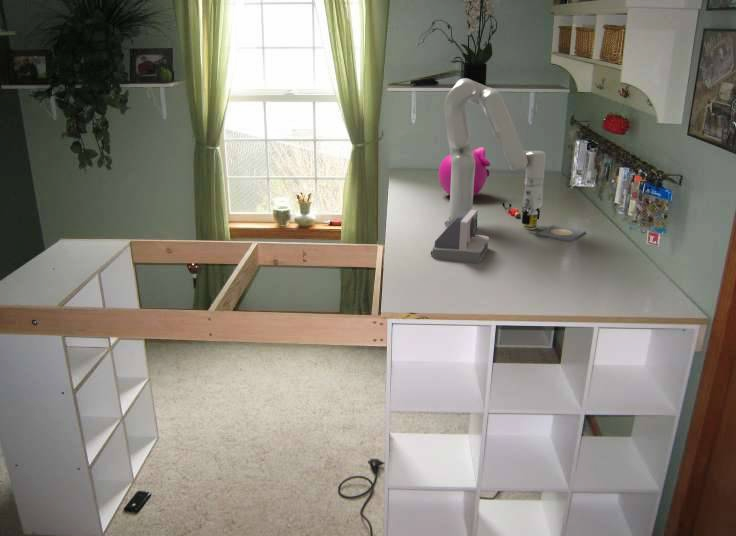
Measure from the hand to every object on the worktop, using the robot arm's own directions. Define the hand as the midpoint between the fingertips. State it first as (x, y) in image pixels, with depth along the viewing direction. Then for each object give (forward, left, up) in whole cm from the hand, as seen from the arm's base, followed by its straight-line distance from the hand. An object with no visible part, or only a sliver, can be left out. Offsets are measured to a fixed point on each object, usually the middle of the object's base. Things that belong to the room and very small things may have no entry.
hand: (530, 221), depth 276 cm
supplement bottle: (0, 0, -3) cm, 3 cm away
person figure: (+18, +16, -4) cm, 24 cm away
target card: (0, -14, -3) cm, 14 cm away
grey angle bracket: (-47, +7, -3) cm, 48 cm away
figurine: (+31, +50, -3) cm, 59 cm away
